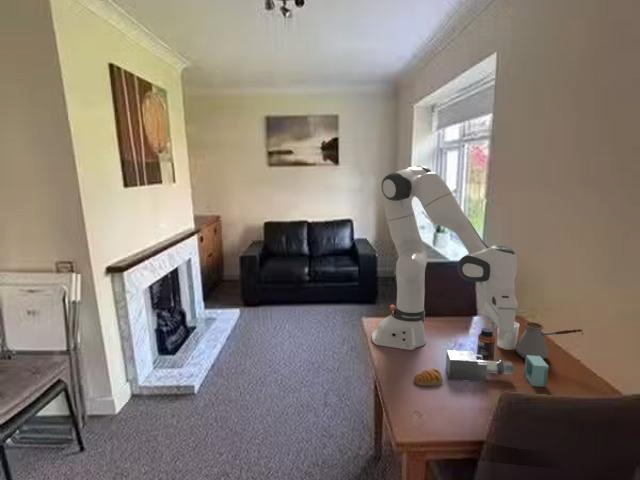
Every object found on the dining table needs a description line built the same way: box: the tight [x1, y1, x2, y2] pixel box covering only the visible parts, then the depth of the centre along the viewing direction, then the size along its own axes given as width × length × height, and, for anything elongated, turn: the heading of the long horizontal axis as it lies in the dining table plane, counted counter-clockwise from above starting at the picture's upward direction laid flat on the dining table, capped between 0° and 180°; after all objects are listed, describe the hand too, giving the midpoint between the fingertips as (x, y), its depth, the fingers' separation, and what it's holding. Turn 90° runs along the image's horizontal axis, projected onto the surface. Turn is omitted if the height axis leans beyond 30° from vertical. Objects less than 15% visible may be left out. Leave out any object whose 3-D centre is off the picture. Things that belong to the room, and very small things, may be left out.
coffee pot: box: [514, 321, 584, 360], centre depth 148 cm, size 21×12×15 cm, turn 53°
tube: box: [478, 358, 514, 376], centre depth 137 cm, size 19×5×5 cm, turn 82°
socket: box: [523, 355, 550, 388], centre depth 135 cm, size 4×7×7 cm, turn 172°
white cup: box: [496, 321, 520, 351], centre depth 160 cm, size 8×8×10 cm
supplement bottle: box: [476, 327, 496, 361], centre depth 151 cm, size 6×6×11 cm
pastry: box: [413, 368, 444, 387], centre depth 135 cm, size 9×7×4 cm
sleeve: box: [445, 349, 488, 383], centre depth 138 cm, size 12×7×7 cm, turn 82°
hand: (496, 333), depth 134 cm, fingers open, 8 cm apart
